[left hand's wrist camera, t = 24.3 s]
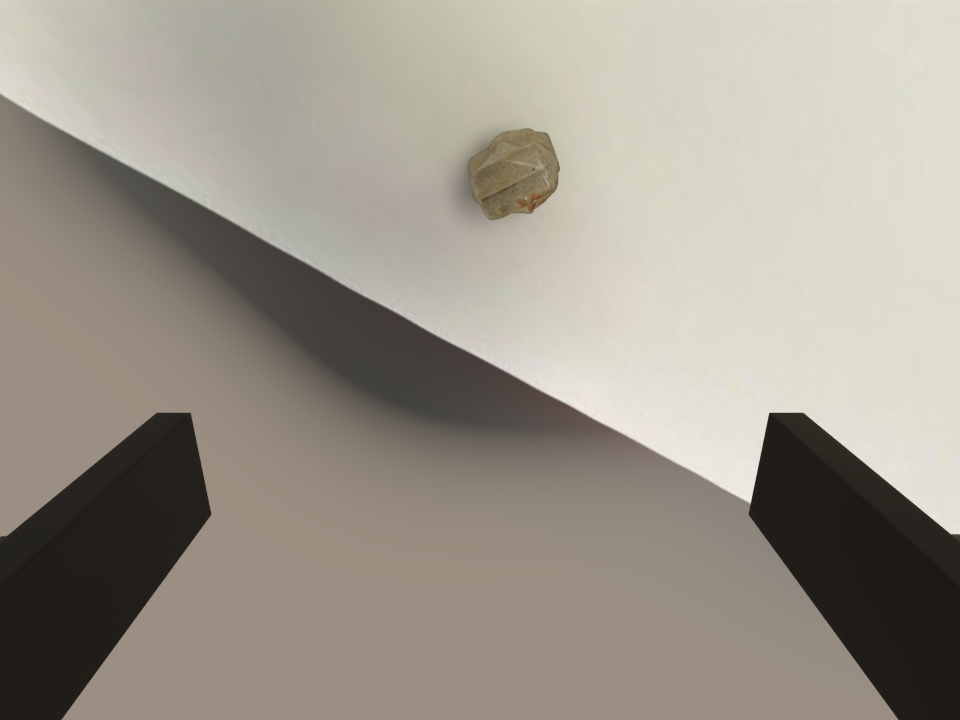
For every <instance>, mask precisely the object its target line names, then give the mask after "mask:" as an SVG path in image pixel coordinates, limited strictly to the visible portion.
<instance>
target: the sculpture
mask: <svg viewBox="0 0 960 720" xmlns="http://www.w3.org/2000/svg"><path fill="white" fill-rule="evenodd" d="M559 169H560V167H559V163H558V160H557V157H556V154H555V151H554V148H553V145H552V143H551V140H550V137H549V135H548V134H547V133H545V132H535V131H534V130H532V129H521V130H516V131H508V132H504V133H501V134H500V135H498V136H497V137H496V138H495V139H493V140H492V141H491V143H490V147H489V148H487V149H485V150H484V151H482V152H480V153H479V154H477V155H476V156H474V157H472V158H471V160H470V161H469V172H470V176H471V185H472V189H473V198H474V200H475V201H476V202H477V203H479V204H481V207H482V209H483V211H484V213H485V215H486V216H487V217H488V218H489V219H490V220H496V219H499V218H502V217H505V216H507V215H509V214H511V213H526V214H531V213H532V212H533V210H534V209H535V208H537V207H538V206H539V205H541V204H542V203H544V202H545V201H546V200H547V198H548V197H549V196H550V195H551V194H552V193H553V192H554V191H555V190H556V188H557V185H558V172H559Z"/></svg>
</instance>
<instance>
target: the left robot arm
mask: <svg viewBox="0 0 960 720" xmlns="http://www.w3.org/2000/svg"><path fill="white" fill-rule="evenodd" d="M210 516H211V511H210V506H209V501H208V496H207V491H206V486H205V481H204V476H203V471H202V466H201V461H200V457H199V452H198V447H197V442H196V437H195V432H194V427H193V422H192V417H191V413H156V414H155V415H154V416H152V417H151V418H150V419H149V420H148V421H146V422H145V423H144V424H143V425H141V426H140V427H139V428H138V429H137V430H135V431H134V432H133V433H132V434H131V435H129V436H128V437H127V438H126V439H124V440H123V441H122V442H121V443H120V444H118V445H117V446H116V447H115V448H114V449H112V450H111V451H110V452H109V453H107V454H106V455H105V456H104V457H103V458H101V459H100V460H99V461H98V462H97V463H95V464H94V465H93V466H92V467H90V468H89V469H88V470H87V471H86V472H84V473H83V474H82V475H81V476H80V477H78V478H77V479H76V480H75V481H73V482H72V483H71V484H70V485H69V486H67V487H66V488H65V489H64V490H62V491H61V492H60V493H59V494H58V495H56V496H55V497H54V498H53V499H52V500H50V501H49V502H48V503H47V504H45V505H44V506H43V507H42V508H41V509H39V510H38V511H37V512H36V513H35V514H33V515H32V516H31V517H30V518H28V519H27V520H26V521H25V522H24V523H22V524H21V525H20V526H19V527H18V528H16V529H15V530H14V531H13V532H11V533H10V534H9V535H8V536H1V537H0V720H61V719H62V718H63V717H64V715H65V714H66V713H67V711H68V710H69V709H70V707H71V706H72V704H73V703H74V702H75V700H76V699H77V698H78V696H79V695H80V694H81V692H82V691H83V689H84V688H85V687H86V685H87V684H88V683H89V681H90V680H91V678H92V677H93V676H94V674H95V673H96V672H97V670H98V669H99V668H100V666H101V665H102V663H103V662H104V661H105V659H106V658H107V657H108V655H109V654H110V653H111V651H112V650H113V648H114V647H115V646H116V644H117V643H118V642H119V640H120V639H121V637H122V636H123V635H124V633H125V632H126V631H127V629H128V628H129V627H130V625H131V624H132V622H133V621H134V620H135V618H136V617H137V616H138V614H139V613H140V611H141V610H142V609H143V607H144V606H145V605H146V603H147V602H148V601H149V599H150V598H151V596H152V595H153V594H154V592H155V591H156V590H157V588H158V587H159V585H160V584H161V583H162V581H163V580H164V579H165V577H166V576H167V575H168V573H169V572H170V570H171V569H172V568H173V566H174V565H175V564H176V562H177V561H178V559H179V558H180V557H181V555H182V554H183V553H184V551H185V550H186V549H187V547H188V546H189V544H190V543H191V542H192V540H193V539H194V538H195V536H196V535H197V533H198V532H199V531H200V529H201V528H202V527H203V525H204V524H205V523H206V521H207V520H208V518H209V517H210ZM749 516H750V517H751V518H752V520H753V521H754V523H755V524H756V525H757V527H758V528H759V529H760V531H761V532H762V533H763V535H764V536H765V538H766V539H767V540H768V542H769V543H770V544H771V546H772V547H773V549H774V550H775V551H776V553H777V554H778V555H779V557H780V558H781V559H782V561H783V562H784V564H785V565H786V566H787V568H788V569H789V570H790V572H791V573H792V575H793V576H794V577H795V579H796V580H797V581H798V583H799V584H800V585H801V587H802V588H803V590H804V591H805V592H806V594H807V595H808V596H809V598H810V599H811V600H812V602H813V603H814V605H815V606H816V607H817V609H818V610H819V611H820V613H821V614H822V616H823V617H824V618H825V620H826V621H827V622H828V624H829V625H830V626H831V628H832V629H833V631H834V632H835V633H836V635H837V636H838V637H839V639H840V640H841V642H842V643H843V644H844V646H845V647H846V648H847V650H848V651H849V653H850V654H851V655H852V657H853V658H854V659H855V661H856V662H857V663H858V665H859V666H860V668H861V669H862V670H863V672H864V673H865V674H866V676H867V677H868V678H869V680H870V681H871V683H872V684H873V685H874V687H875V688H876V689H877V691H878V692H879V694H880V695H881V696H882V698H883V699H884V700H885V702H886V703H887V705H888V706H889V707H890V709H891V710H892V711H893V713H894V714H895V715H896V717H897V718H898V720H960V535H959V534H950V533H949V532H947V531H946V530H945V529H944V528H942V527H941V526H940V525H939V524H938V523H936V522H935V521H934V520H933V519H932V518H930V517H929V516H928V515H927V514H925V513H924V512H923V511H922V510H921V509H919V508H918V507H917V506H916V505H915V504H913V503H912V502H911V501H910V500H908V499H907V498H906V497H905V496H904V495H902V494H901V493H900V492H899V491H898V490H896V489H895V488H894V487H893V486H891V485H890V484H889V483H888V482H887V481H885V480H884V479H883V478H882V477H881V476H879V475H878V474H877V473H876V472H874V471H873V470H872V469H871V468H870V467H868V466H867V465H866V464H865V463H863V462H862V461H861V460H860V459H859V458H857V457H856V456H855V455H854V454H853V453H851V452H850V451H849V450H848V449H846V448H845V447H844V446H843V445H842V444H840V443H839V442H838V441H837V440H836V439H834V438H833V437H832V436H831V435H829V434H828V433H827V432H826V431H825V430H823V429H822V428H821V427H820V426H819V425H817V424H816V423H815V422H814V421H812V420H811V419H810V418H809V417H808V416H806V415H805V414H804V413H769V417H768V422H767V427H766V432H765V437H764V442H763V447H762V452H761V457H760V461H759V466H758V471H757V476H756V481H755V486H754V491H753V496H752V501H751V506H750V511H749Z"/></svg>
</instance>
